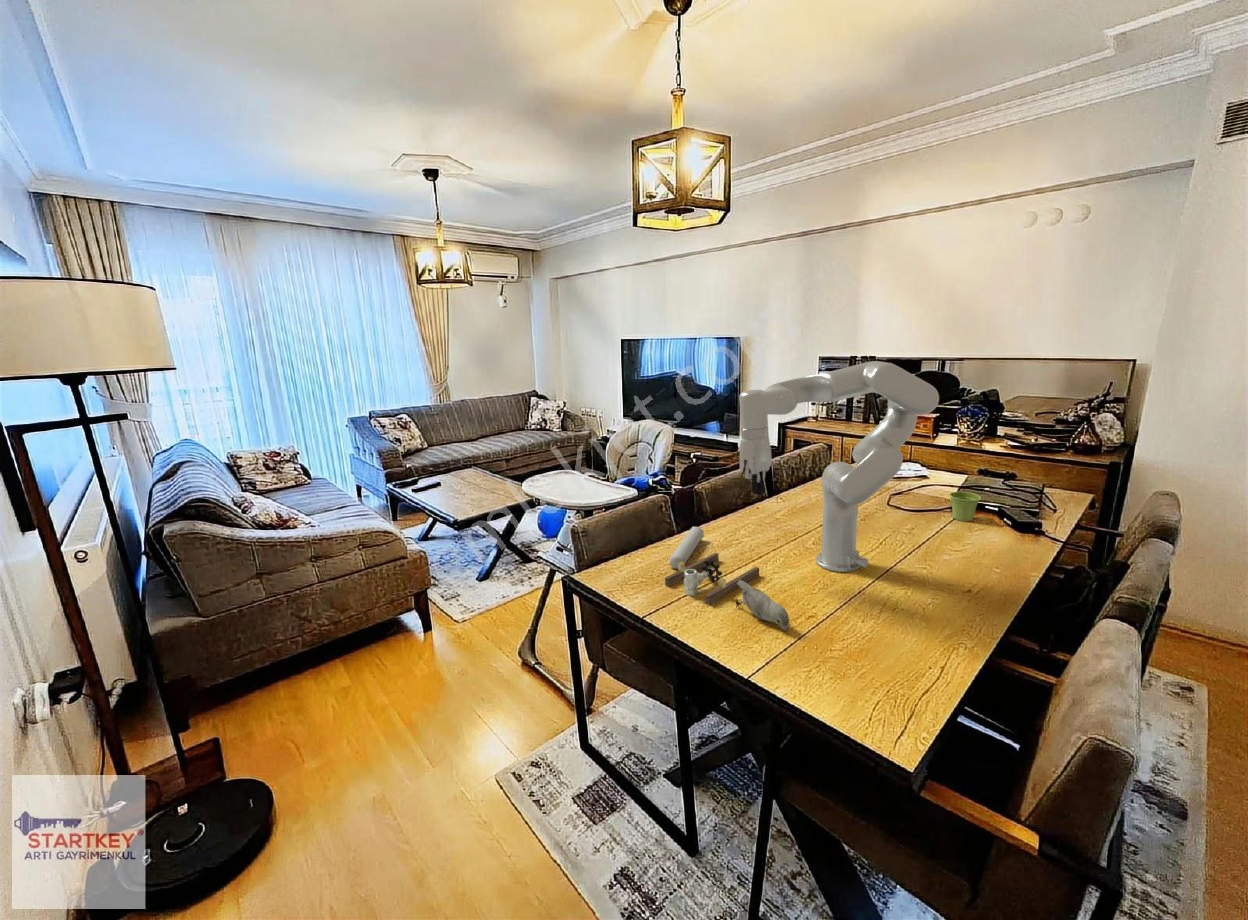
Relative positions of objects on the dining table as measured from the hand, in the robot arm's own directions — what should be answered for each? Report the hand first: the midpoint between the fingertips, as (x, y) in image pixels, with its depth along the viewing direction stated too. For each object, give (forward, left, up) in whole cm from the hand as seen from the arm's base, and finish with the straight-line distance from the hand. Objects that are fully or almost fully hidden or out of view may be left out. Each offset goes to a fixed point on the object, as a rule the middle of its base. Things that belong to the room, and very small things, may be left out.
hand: (758, 493), depth 152 cm
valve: (+5, +22, -24) cm, 33 cm away
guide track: (+5, +16, -24) cm, 29 cm away
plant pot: (-31, -80, -24) cm, 89 cm away
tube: (+23, +8, -24) cm, 34 cm away
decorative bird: (-17, +23, -24) cm, 38 cm away
